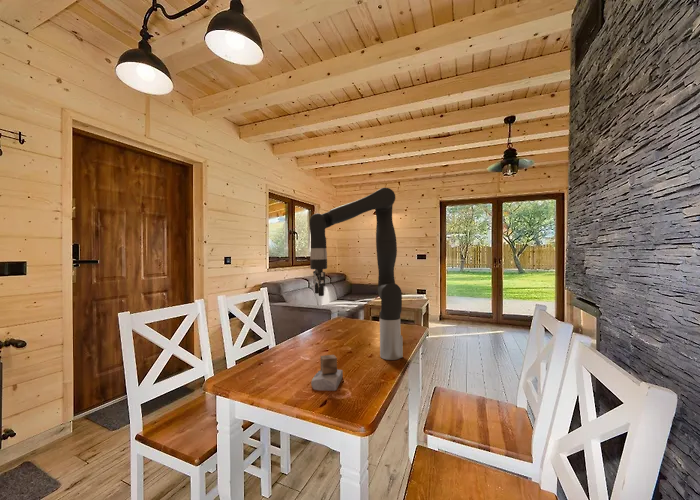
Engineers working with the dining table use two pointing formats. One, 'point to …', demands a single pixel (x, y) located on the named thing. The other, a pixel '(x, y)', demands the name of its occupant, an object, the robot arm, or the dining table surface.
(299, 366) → the dining table surface
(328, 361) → the walnut cube
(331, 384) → the stone block
